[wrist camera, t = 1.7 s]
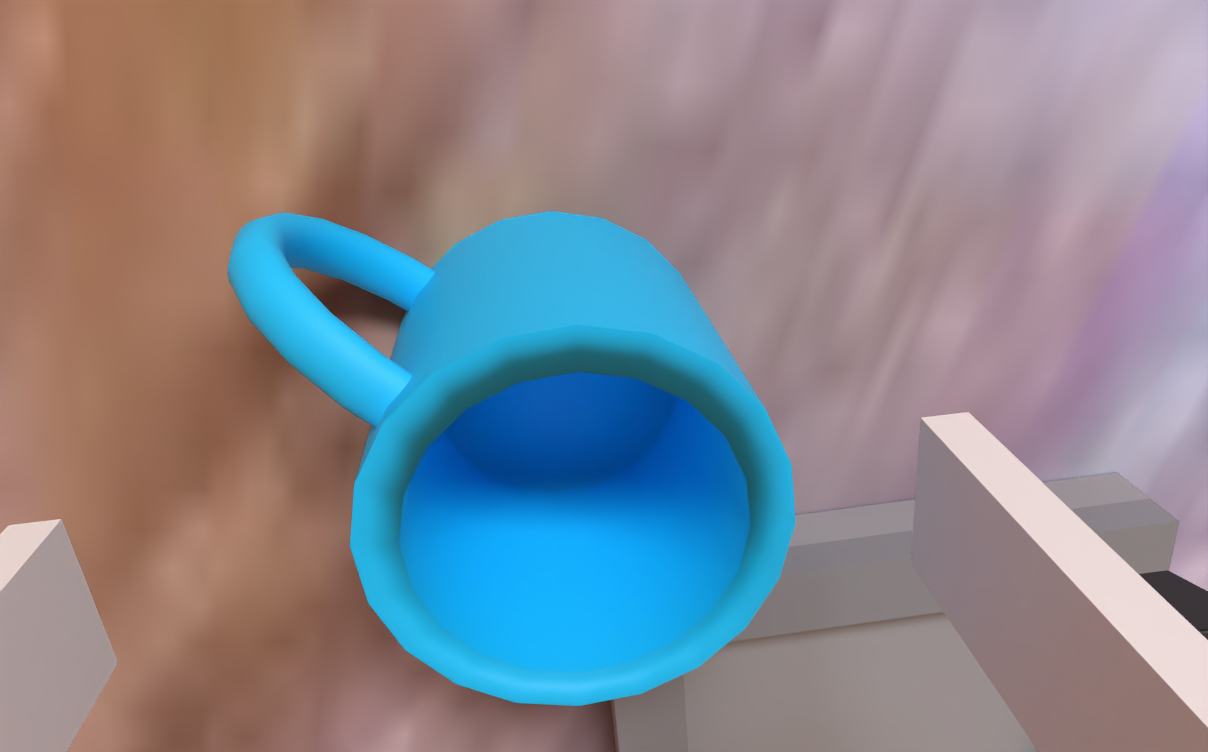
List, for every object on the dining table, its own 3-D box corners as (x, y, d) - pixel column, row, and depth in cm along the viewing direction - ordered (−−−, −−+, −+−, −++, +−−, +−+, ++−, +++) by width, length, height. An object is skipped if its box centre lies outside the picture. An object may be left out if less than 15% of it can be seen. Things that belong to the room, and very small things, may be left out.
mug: (765, 324, 24) (885, 476, 17) (587, 541, 26) (622, 762, 19) (371, 43, 20) (297, 77, 13) (200, 324, 22) (52, 493, 15)
